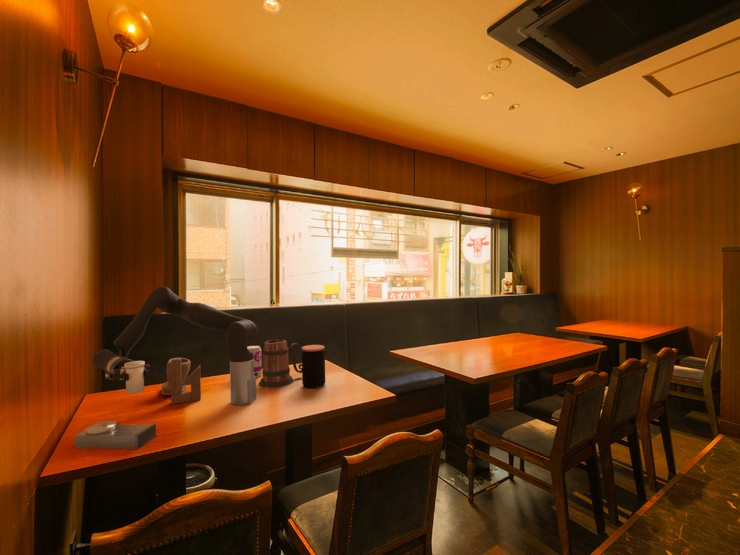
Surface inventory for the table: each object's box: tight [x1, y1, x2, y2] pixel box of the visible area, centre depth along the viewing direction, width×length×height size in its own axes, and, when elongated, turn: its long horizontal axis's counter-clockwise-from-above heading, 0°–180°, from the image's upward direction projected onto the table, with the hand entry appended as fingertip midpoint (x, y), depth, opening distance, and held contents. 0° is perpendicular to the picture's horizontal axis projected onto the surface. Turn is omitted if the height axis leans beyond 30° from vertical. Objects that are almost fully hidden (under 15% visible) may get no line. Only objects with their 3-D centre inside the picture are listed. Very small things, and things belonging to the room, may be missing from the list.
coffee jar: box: [301, 344, 326, 390], centre depth 164 cm, size 11×11×18 cm
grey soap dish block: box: [74, 420, 157, 450], centre depth 111 cm, size 20×8×5 cm, turn 86°
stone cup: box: [160, 357, 192, 396], centre depth 159 cm, size 15×12×15 cm
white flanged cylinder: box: [124, 360, 146, 395], centre depth 123 cm, size 6×6×10 cm
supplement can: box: [247, 345, 263, 378], centre depth 181 cm, size 8×8×15 cm
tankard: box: [258, 339, 302, 389], centre depth 172 cm, size 24×17×20 cm
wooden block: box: [170, 357, 202, 405], centre depth 146 cm, size 4×11×18 cm, turn 114°
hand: (137, 375), depth 121 cm, fingers closed on white flanged cylinder, 5 cm apart
